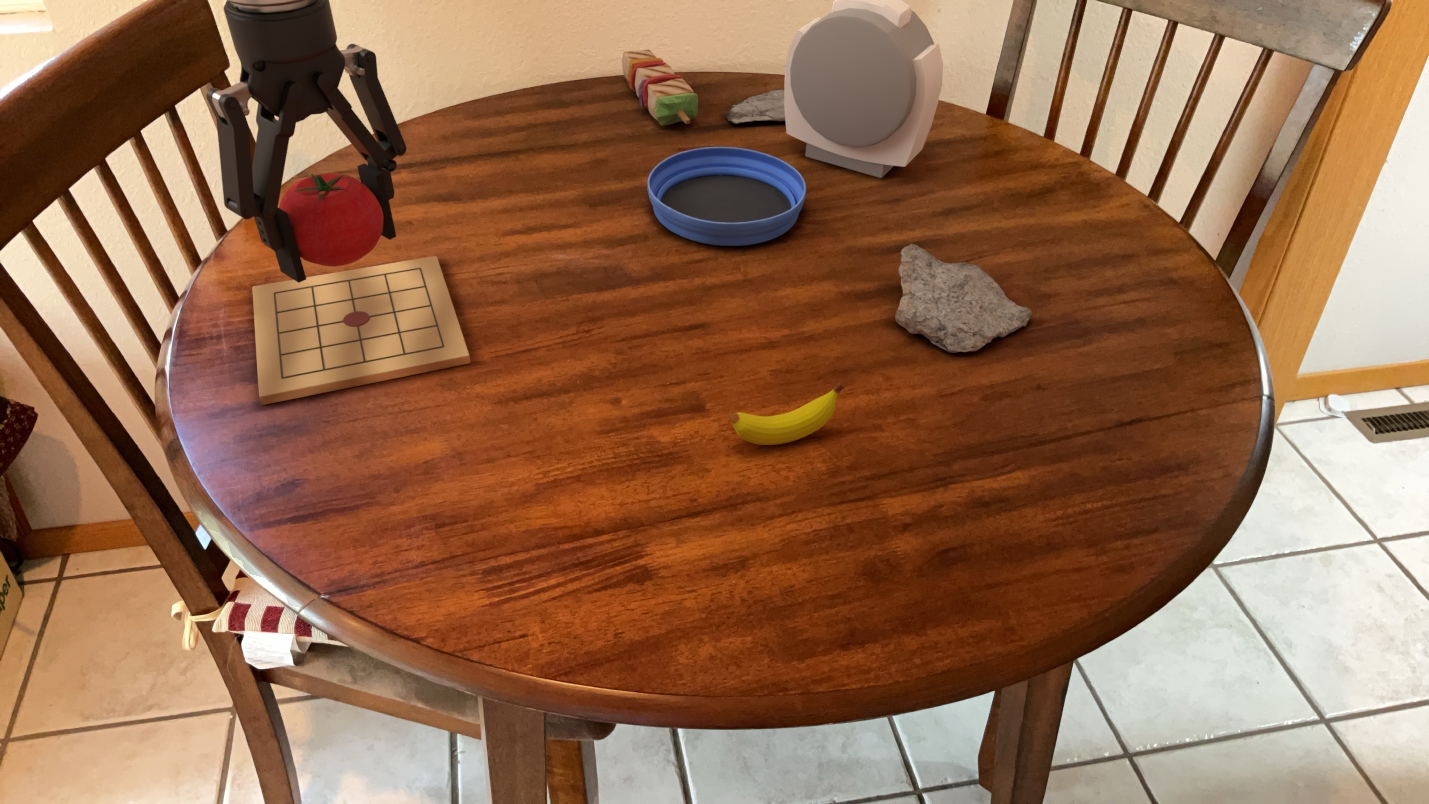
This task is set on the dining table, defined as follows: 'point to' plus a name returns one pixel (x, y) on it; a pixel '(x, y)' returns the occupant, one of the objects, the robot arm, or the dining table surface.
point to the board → (354, 329)
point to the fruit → (786, 421)
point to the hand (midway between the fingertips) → (340, 253)
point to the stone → (759, 108)
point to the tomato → (333, 218)
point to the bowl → (726, 195)
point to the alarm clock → (863, 85)
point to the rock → (954, 303)
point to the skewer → (659, 88)
